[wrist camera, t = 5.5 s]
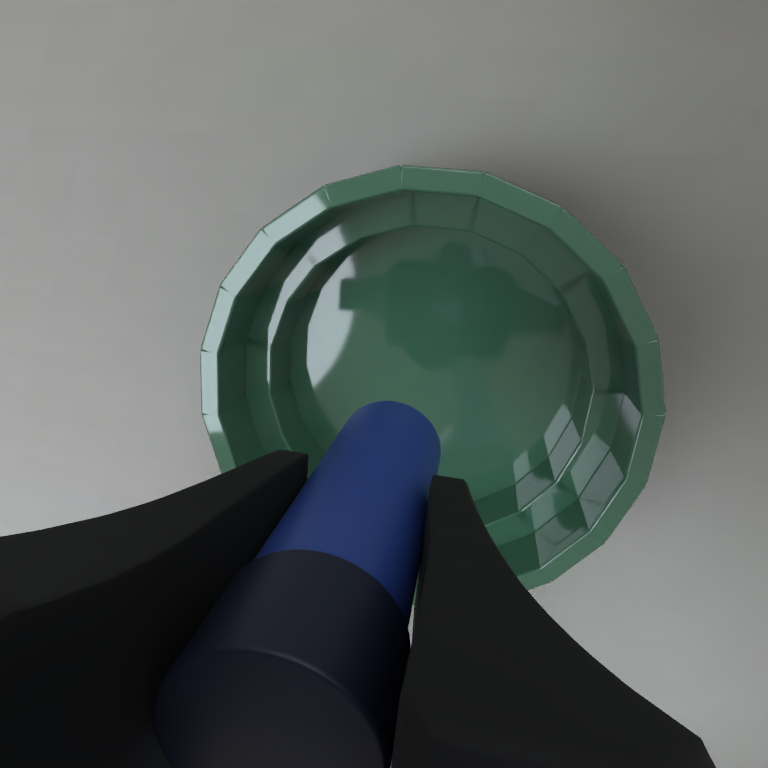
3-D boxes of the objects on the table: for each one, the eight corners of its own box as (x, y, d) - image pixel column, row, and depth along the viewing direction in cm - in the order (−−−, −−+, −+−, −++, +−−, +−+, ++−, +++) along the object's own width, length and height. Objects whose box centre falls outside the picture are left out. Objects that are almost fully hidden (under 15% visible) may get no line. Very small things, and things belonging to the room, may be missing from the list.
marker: (438, 504, 14) (378, 864, 6) (334, 486, 14) (156, 805, 7) (452, 404, 13) (401, 681, 5) (340, 388, 13) (144, 623, 6)
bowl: (579, 556, 21) (602, 644, 16) (257, 498, 23) (204, 563, 18) (666, 196, 16) (729, 191, 12) (262, 162, 18) (194, 147, 14)
